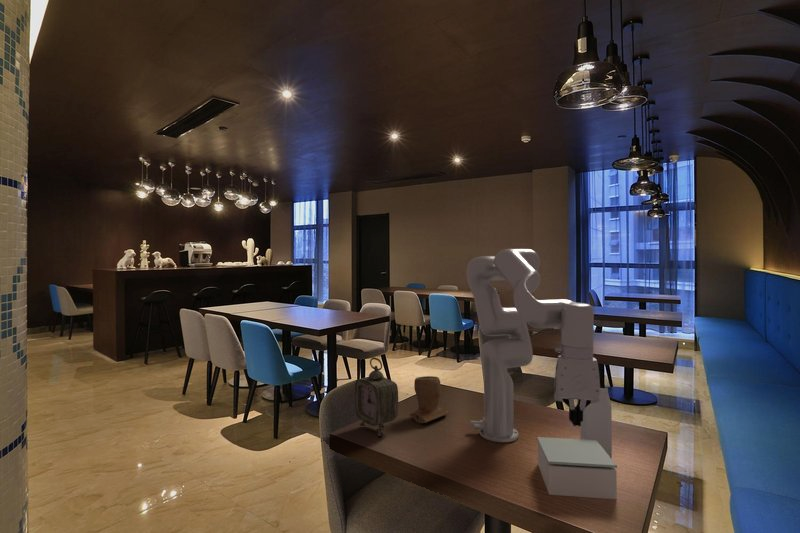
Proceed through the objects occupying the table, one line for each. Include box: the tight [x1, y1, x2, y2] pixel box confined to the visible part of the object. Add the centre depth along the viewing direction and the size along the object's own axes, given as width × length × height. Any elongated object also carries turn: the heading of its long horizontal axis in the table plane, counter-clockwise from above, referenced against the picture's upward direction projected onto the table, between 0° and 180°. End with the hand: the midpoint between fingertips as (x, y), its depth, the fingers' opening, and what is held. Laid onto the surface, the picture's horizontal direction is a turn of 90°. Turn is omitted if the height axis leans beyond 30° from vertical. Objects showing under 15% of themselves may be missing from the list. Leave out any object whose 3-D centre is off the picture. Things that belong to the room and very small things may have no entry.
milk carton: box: [580, 387, 613, 457], centre depth 126 cm, size 7×7×19 cm
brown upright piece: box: [409, 375, 449, 424], centre depth 155 cm, size 15×12×15 cm
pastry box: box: [537, 441, 618, 500], centre depth 109 cm, size 16×16×7 cm
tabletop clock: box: [354, 357, 399, 437], centre depth 143 cm, size 14×9×25 cm, turn 38°
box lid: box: [536, 436, 618, 469], centre depth 109 cm, size 16×16×1 cm
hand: (575, 423), depth 105 cm, fingers closed
